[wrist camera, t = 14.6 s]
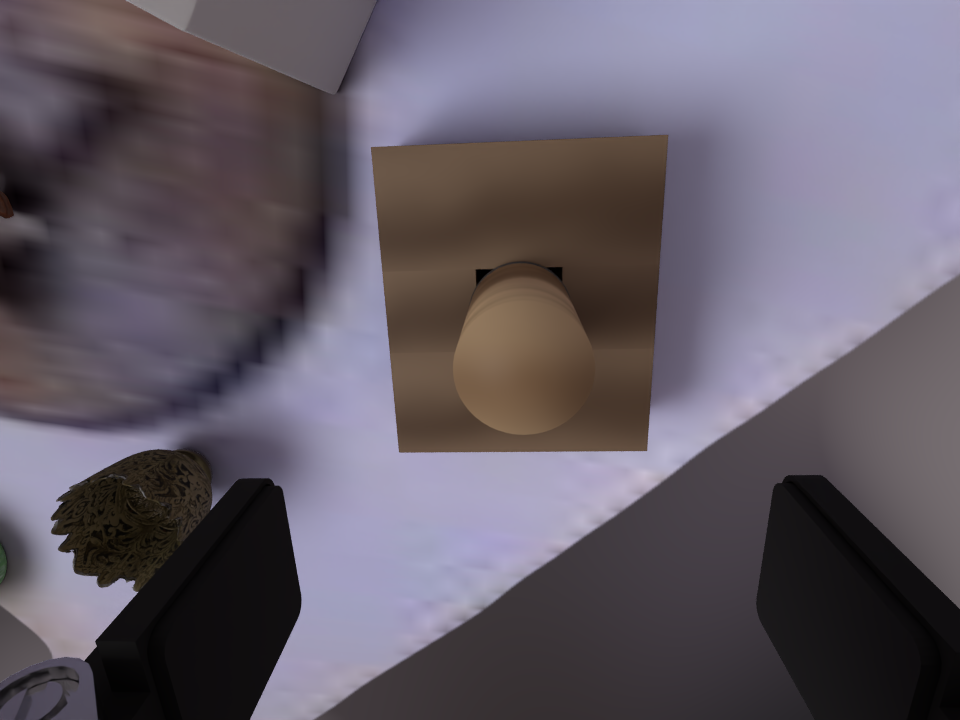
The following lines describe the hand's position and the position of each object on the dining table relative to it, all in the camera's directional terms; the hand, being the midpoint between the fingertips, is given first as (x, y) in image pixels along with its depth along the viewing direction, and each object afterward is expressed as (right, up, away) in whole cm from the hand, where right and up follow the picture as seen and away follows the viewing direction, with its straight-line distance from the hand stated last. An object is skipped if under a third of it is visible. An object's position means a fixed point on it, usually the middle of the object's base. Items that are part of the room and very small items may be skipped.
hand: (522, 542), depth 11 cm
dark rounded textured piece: (-21, -4, +28) cm, 36 cm away
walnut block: (+2, +8, +23) cm, 24 cm away
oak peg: (+2, +7, +22) cm, 24 cm away
